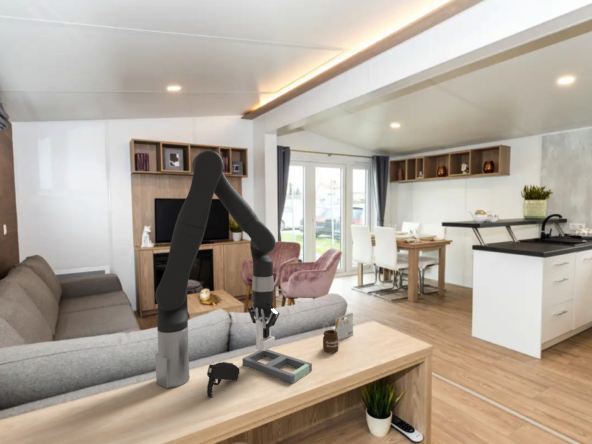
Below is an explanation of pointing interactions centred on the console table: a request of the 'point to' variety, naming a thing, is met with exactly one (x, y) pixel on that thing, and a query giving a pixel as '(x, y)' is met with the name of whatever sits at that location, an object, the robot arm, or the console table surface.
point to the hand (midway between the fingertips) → (263, 336)
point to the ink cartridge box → (344, 326)
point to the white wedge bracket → (263, 342)
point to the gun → (221, 374)
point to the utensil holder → (330, 339)
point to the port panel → (277, 365)
